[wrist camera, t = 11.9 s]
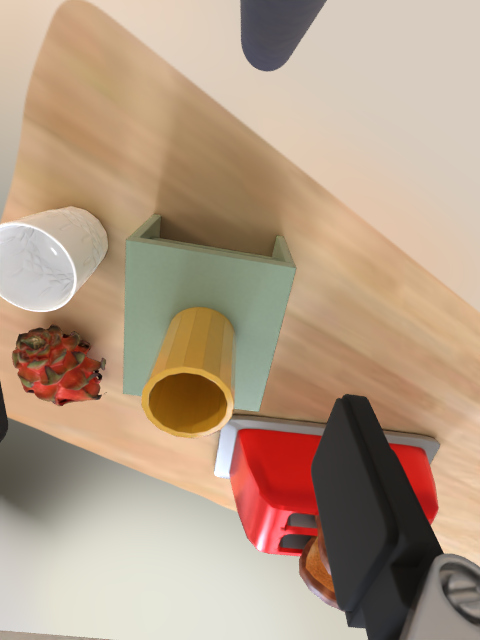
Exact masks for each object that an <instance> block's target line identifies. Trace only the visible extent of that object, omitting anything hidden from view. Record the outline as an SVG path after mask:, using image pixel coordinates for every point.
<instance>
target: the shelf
mask: <svg viewBox="0 0 480 640" xmlns="http://www.w3.org/2000/svg"><path fill="white" fill-rule="evenodd" d="M160 224H161V215H157V214H153V215H152V216H151V217H150V218H149V219H148V220H147V221H146V222H145V223H144V224H143V225H142V226H141V227H140V228H138V229H137V230H136V231H135V232H134V233H133V234H132V235H131V236H130V237H129V238H128V239H126V269H125V323H124V376H123V394H130V395H137V396H142V390H143V388H144V385H145V382H146V380H147V377H148V375H149V372H150V369H151V367H152V364H153V362H154V359H155V356H156V354H157V351H158V349H159V346H160V343H161V341H162V338H163V336H164V333H165V330H166V329H167V327H168V325H169V323H170V321H171V320H172V318H173V317H174V316H175V315H176V314H178V313H179V312H181V311H183V310H185V309H188V308H193V307H206V308H210V309H213V310H216V311H218V312H220V313H221V314H223V315H224V316H225V317H226V318H227V319H228V320H229V321H230V323H231V324H232V326H233V328H234V330H235V335H236V369H235V404H234V409H241V410H248V411H256V412H259V410H260V406H261V402H262V398H263V394H264V390H265V387H266V383H267V379H268V375H269V371H270V367H271V363H272V360H273V356H274V352H275V348H276V344H277V340H278V337H279V333H280V329H281V325H282V321H283V317H284V314H285V310H286V306H287V302H288V298H289V294H290V291H291V287H292V283H293V279H294V275H295V271H296V266H295V264H294V262H293V259H292V257H291V254H290V252H289V249H288V246H287V244H286V241H285V239H284V237H283V236H278V235H277V236H276V241H275V245H274V250H273V254H272V257H269V256H263V255H257V254H251V253H245V252H239V251H234V250H228V249H222V248H216V247H210V246H204V245H198V244H192V243H186V242H180V241H174V240H168V239H162V238H160Z"/></svg>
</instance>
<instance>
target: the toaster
mask: <svg viewBox="0 0 480 640" xmlns="http://www.w3.org/2000/svg"><path fill="white" fill-rule="evenodd" d="M326 425H327V424H321V423H312V422H303V421H294V420H285V419H276V418H267V417H257V416H245V415H232V417H231V419H230V420H229V421H228V422H227V423H226V425H225V426H224V427H223V428H222V429H221V430H220V437H219V443H218V449H217V456H216V462H215V468H214V474H215V475H216V476H218V477H221V478H226V479H230V480H231V485H232V490H233V494H234V498H235V502H236V506H237V511H238V514H239V517H240V519H241V522H242V525H243V528H244V530H245V533H246V536H247V538H248V539H249V541H250V542H251V543H252V544H253V545H254V546H255V547H256V549H257V550H258V551H261V552H264V553H268V554H280V555H290V556H300V559H299V573H300V576H301V577H302V579H303V580H304V582H305V583H306V585H307V587H308V588H309V589H310V591H312V592H313V593H314V594H315V595H317V596H318V597H319V598H320V599H321V600H322V601H324V602H325V603H326V604H328V605H330V606H332V607H335V608H337V609H339V607H338V605H337V601H336V596H335V591H334V586H333V581H332V576H331V571H330V566H329V561H328V556H327V551H326V546H325V542H324V537H323V532H322V527H321V522H320V517H319V512H318V507H317V502H316V497H315V492H314V487H313V482H312V477H311V464H312V461H313V458H314V455H315V453H316V450H317V448H318V445H319V443H320V440H321V437H322V435H323V432H324V430H325V427H326ZM383 432H384V435H385V437H386V439H387V441H388V443H389V445H390V447H391V449H392V450H394V452H395V453H396V455H397V456H398V458H399V461H400V463H401V465H402V467H403V469H404V471H405V473H406V475H407V477H408V479H409V482H410V484H411V486H412V488H413V490H414V492H415V494H416V496H417V498H418V500H419V503H420V505H421V507H422V509H423V511H424V513H425V515H426V517H427V519H428V521H429V523H430V525H431V524H432V522H433V520H434V518H435V516H436V514H437V512H438V509H439V507H438V500H437V493H436V487H435V482H434V478H433V475H432V471H431V468H430V463H431V461H432V460H433V458H434V456H435V454H436V453H437V451H438V449H439V447H440V443H439V442H438V441H437V440H435V439H433V438H431V437H428V436H423V435H418V434H410V433H402V432H393V431H384V430H383ZM339 610H340V609H339ZM341 611H342V610H341ZM343 612H345V611H343Z"/></svg>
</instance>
